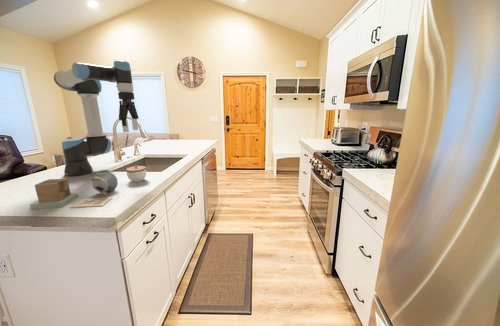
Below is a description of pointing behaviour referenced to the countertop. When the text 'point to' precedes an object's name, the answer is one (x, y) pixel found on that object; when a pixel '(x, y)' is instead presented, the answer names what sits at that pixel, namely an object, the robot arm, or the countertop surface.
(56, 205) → the base plate
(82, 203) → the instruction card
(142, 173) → the lidded jar
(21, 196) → the countertop surface
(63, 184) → the walnut cube
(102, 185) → the decorative toy
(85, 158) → the robot arm
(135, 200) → the countertop surface
